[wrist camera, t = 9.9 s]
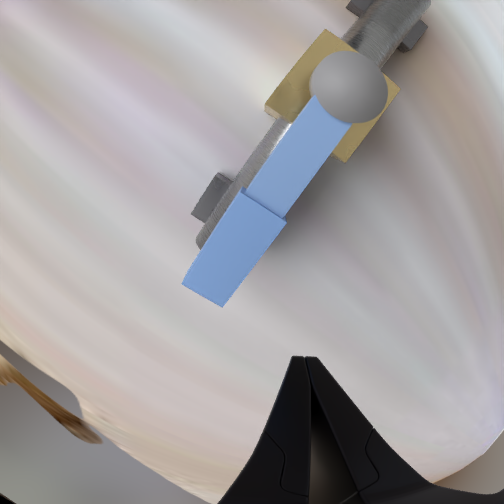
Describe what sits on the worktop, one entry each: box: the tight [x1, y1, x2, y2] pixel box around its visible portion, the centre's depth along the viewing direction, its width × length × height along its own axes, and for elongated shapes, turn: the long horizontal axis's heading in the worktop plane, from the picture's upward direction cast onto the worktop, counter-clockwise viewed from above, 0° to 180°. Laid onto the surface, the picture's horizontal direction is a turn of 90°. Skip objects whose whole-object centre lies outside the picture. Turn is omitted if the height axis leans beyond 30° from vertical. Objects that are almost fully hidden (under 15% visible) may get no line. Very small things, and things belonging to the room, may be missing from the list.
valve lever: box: [182, 51, 388, 308], centre depth 11 cm, size 12×3×1 cm, turn 147°
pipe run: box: [191, 0, 431, 250], centre depth 13 cm, size 22×5×6 cm, turn 146°
